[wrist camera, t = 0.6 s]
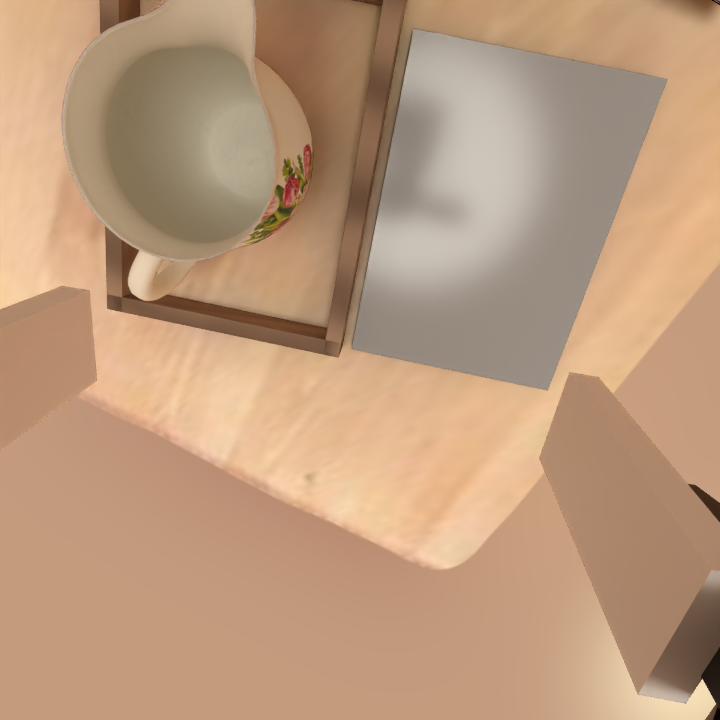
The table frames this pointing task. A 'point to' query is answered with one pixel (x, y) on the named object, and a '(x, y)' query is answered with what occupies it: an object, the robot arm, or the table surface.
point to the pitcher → (184, 137)
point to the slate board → (497, 205)
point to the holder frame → (125, 5)
